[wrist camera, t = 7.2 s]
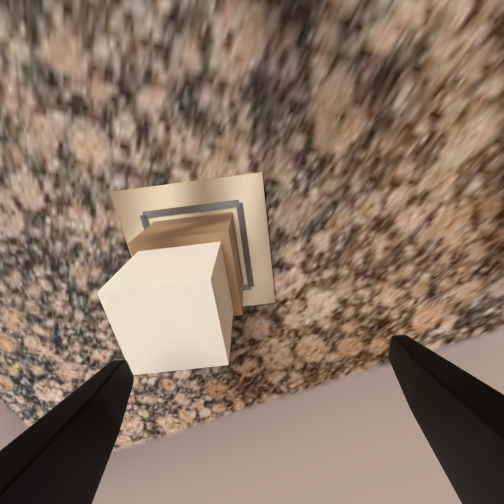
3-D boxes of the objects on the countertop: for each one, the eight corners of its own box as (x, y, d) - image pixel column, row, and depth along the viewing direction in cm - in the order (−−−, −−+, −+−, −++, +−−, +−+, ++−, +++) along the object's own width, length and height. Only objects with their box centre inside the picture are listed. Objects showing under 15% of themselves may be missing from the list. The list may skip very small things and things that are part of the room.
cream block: (220, 241, 15) (210, 279, 11) (233, 310, 17) (228, 365, 13) (138, 251, 15) (96, 292, 11) (160, 318, 17) (132, 374, 13)
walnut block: (232, 211, 19) (228, 231, 15) (243, 281, 21) (242, 314, 17) (153, 221, 19) (127, 243, 15) (173, 289, 21) (155, 324, 17)
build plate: (261, 172, 18) (262, 172, 18) (275, 300, 22) (275, 303, 22) (112, 191, 18) (109, 192, 18) (153, 313, 23) (152, 317, 22)
